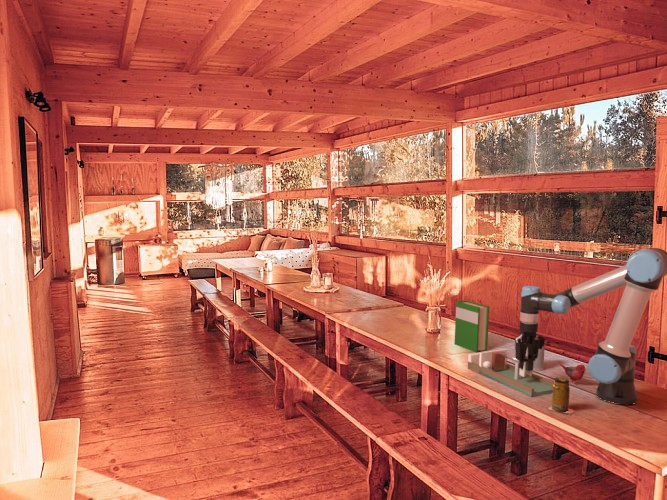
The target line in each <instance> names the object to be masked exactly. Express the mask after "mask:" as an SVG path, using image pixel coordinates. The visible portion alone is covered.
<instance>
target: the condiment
mask: <svg viewBox="0 0 667 500" xmlns="http://www.w3.org/2000/svg"><path fill="white" fill-rule="evenodd" d="M553 382H554V385H553V393H551V395H552V396H551V397H552V398H551V406H550V407H548V408H547V410H550V411H554V412H557V413H561V414H565V415H569V416H571V415H570V414H569V413H562V412H566V411H568V408H570V407H569V406H570V405H569V404H570V390H571V389H570V388H571V387H570V380H569V379H568V378H565V377H558V376H557V377H555V378H554V380H553Z"/></svg>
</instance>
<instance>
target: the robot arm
mask: <svg viewBox="0 0 667 500" xmlns="http://www.w3.org/2000/svg"><path fill="white" fill-rule="evenodd" d="M665 276H667V251H666V250H664V249H661V248H659V247H651V248H645V249H644V248H643V249H639V250H637V251H636V252H634V253H633V254H631V256H629V258H628V260H627V262H626V263H625V264H624V265H622V266H620V267H618V268H615V269H613V270H610V271H607V272H605V273H603V274H601V275H598V276H596V277H594V278H591V279H588V280H586V281H584V282H582V283H579V284H576V285H574V286H572V287H569V288H567V289H564V290H563V291H560V292H557V293H548V292H547V293H546V292H542V291H541V287H539V286H537V285H523V287H522V289H521V293H520V310H519V311H520V313H519V314H520V315H519V326H518V327H519V328H518V329H519V336H518V337H514V338H513V339H514V343H515V347H514V349H515V348H516V350H515V357H516V359H517V360H519V368H520V372H519V375H521V376H523V377H525V373H526V374H527V375H530V376H532V373H533V371H526V362H525V357H526V356H527V347H528V357H530V358H532V359H534V361H535V360H536V359H537V358H538V350H539V343H540V340H541V337H542V336H540V335H538V334H537V332H538V330H539V321H540V320H539V318H540V317H539V315H540V312H541V311H542V312H547V313H553V314H556V315H560V314H561V315H566V314H568V313H569V311H570V309H571V308H573V307H575V306H579V305H580V304H582V303H586V302H588V301H591V300H593V299H595V298H598V297H600V296H603V295H605V294H608V293H610V292H611V293H612V292H614V291H617V290H618V289H621V288H624V287H625V288H624V290H623V293H622V296H621V299H620V301H619V304H618V306H617V309H616V310H615V312H614V313H615V314H614V315H613V316H614V317H613V319H612V322H611V324H610V326H609V328H608V329H609V330H608V332H607V334H606V337H605V340H603V341H601V342H599V343H598V346H597V348H596V350H595V353H594V355H592V356H591V357H590V358H589V360H588V364H587V368H588V372H589V374H590V376H592V378H593V379H594V380H595V381H597V382H598V383H599V384H598V385H597V388H596V393H595V396H596V395H597V396H598V397H599V398H601V399H603V400H606V401H610V402H614V403H620V404H633V403H636V402H637V403H638V399H639V396H638V393H637V389H636V386H635V371H636V364H637V363H636V359H637V347H636V346H634V345H632V342H633V339H634V337H635V334H636V332H637V330H638V327H639V325H640V322H641V319H642V317H643V314H644V312H645V310H646V307H647V304H648V301H649V300H650V296H651V295H652V293H653V292H656V291H658V290H659V288H660V284H661V282H662V281H663V277H665ZM535 358H536V359H535ZM597 396H596V397H597ZM598 397H597V398H598ZM599 398H598V399H599ZM601 399H600V400H601ZM603 400H602V401H603ZM606 401H605V402H606ZM614 403H613V404H614ZM637 403H636V404H637ZM633 405H634V404H633Z"/></svg>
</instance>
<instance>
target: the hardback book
mask: <svg viewBox="0 0 667 500" xmlns="http://www.w3.org/2000/svg"><path fill="white" fill-rule="evenodd" d="M489 321H490V306H489V305H485V304H482V303H477V302H475V301H470V300H459V301H458V300H457V301H456V303H455V326H454V344H453V345H456V346H459V347H461V348H463V349H467V350H468V351H471V352H474V353H479V351H483V352H487V351H488V342H489V341H488V340H489Z"/></svg>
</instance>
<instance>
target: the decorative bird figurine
mask: <svg viewBox="0 0 667 500" xmlns="http://www.w3.org/2000/svg"><path fill="white" fill-rule="evenodd" d="M558 364H559V365H560V366H561V367H562V369H563V371H564V372H565V374H566V375H567V376H568V378H569V379H570V382H571V383H573V384H574V385H577V386H578V383H577V382H576V381H579V380H582V379H583V376H584V374H585V372H587V370H586V366H585V365H584V364H583V363H582V364H578V365H577V366H565V365H563V364H562V363H561V362H558Z"/></svg>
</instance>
